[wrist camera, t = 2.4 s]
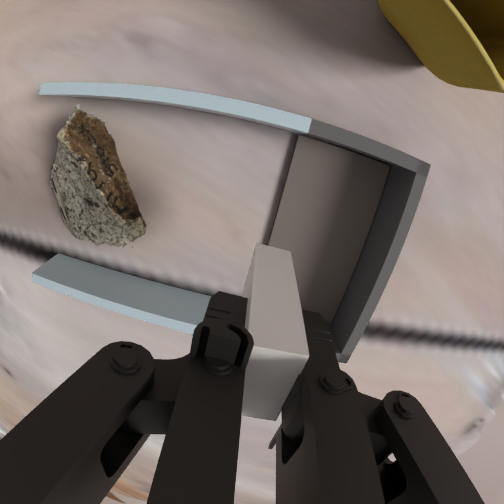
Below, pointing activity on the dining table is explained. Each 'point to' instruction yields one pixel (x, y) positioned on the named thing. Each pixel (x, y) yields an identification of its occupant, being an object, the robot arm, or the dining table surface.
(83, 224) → the rock sample
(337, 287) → the grey open box
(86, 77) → the dining table surface
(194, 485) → the robot arm
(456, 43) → the flower pot
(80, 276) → the strips
